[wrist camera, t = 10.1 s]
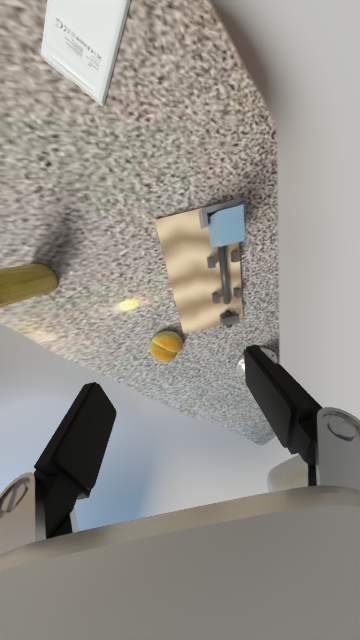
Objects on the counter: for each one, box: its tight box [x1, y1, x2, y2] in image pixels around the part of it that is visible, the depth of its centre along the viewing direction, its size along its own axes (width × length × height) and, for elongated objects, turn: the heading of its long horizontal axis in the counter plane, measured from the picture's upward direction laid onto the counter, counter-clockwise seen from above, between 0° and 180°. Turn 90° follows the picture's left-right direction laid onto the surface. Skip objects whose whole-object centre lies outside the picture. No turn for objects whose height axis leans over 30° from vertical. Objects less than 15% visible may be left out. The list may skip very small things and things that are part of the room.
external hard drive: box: [41, 0, 131, 107], centre depth 20 cm, size 2×8×12 cm
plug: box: [208, 205, 245, 305], centre depth 30 cm, size 18×4×7 cm, turn 13°
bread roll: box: [149, 331, 183, 361], centre depth 40 cm, size 8×9×4 cm
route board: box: [155, 199, 243, 334], centre depth 34 cm, size 27×16×3 cm, turn 13°
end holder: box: [198, 198, 242, 229], centre depth 28 cm, size 3×7×3 cm, turn 103°
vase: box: [0, 263, 58, 307], centre depth 26 cm, size 6×6×14 cm
